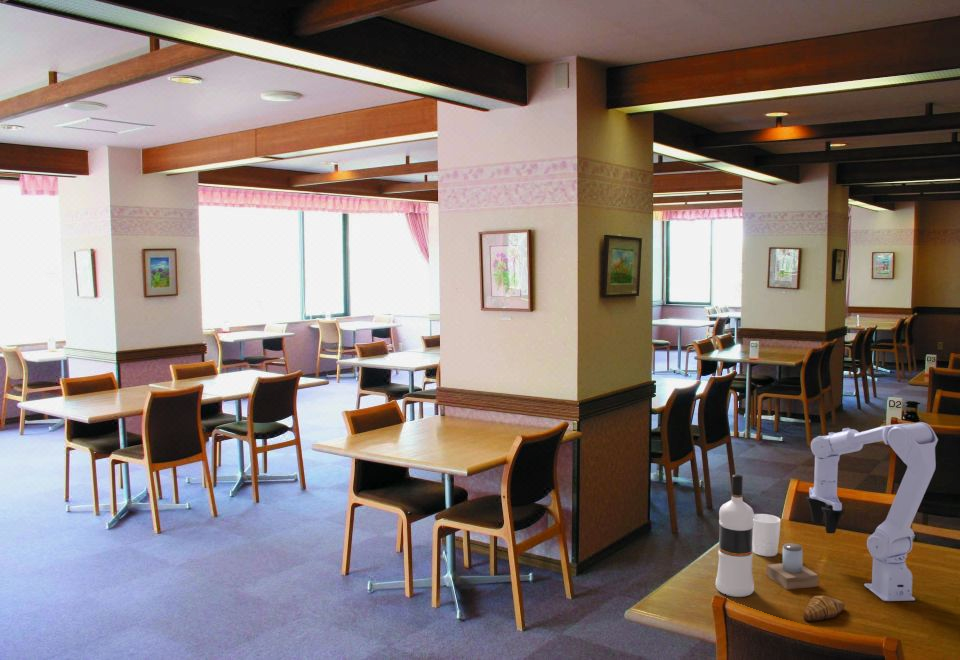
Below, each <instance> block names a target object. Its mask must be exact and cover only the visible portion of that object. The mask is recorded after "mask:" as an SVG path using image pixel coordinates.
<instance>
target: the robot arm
mask: <svg viewBox="0 0 960 660" xmlns="http://www.w3.org/2000/svg"><path fill="white" fill-rule="evenodd" d="M938 441H939V438H938V437H937V434H936V433H935V431H934V429H933V427H931V425H929V424H928V423H926V422H922V421H918V422H915V423H912V422H911V423H910V422H909V423H908V422H907V423H898V424H897V423H896V424H895V423H894V424H888V425H887V424H886V425H882V426H879V427H875V428H872V429H868V430H863V431H860V432H859V431H858V429H857V430H856V429H854V428H853V429H852V428H850V427H845V428H842V431H839V432H838V431H837V432H833V431H831V432H828V435H818V436H816V437H814V438H813V439H812V440H811V441H810V450H811V452H812V454H813V455H814V473H813V474H814V477H813V480H814V481H813V487H809V491H808V494H809V496H806V497H805V500H806V503H807V504H808V507H809V510H810V515H811V520H812V523H813V524H821V525H822V523H823V520H824V525H825V533H826V534H835V533H836V531H837V528H838V525H839V522H840V520H841V519H842V517H843V515H844V514H845V512H846V510H845V509H844V508H843V503H842V502H841V501H840V500H839V497H838V494H837V493H838V469H839V465H838V464H839V461H840V457H841V455H846V454H850V453H854V452H860V451H861V450H862V449H863V447H864V445H867V444H868V445H869V444H872V443H873V444H874V443H878V442H884V444H885V445H889V446H890V448H892V450H893V451H894V452H895V454H896V455H897V456H898V457H899V458H900V459H901V461H902V462H903V463H904V464H905V465H906V466H907V467H906V470H905V473H904V475H903V477H902V479H901V482H900V485H899V487H898V489H897V492H896V495H895V496H894V499H893V502H892V504H891V507H890V509H889V511H888V513H887V516H886V518H885V520H884V521H883V522H881V524H879V525H878V526H877V527H876V528H875V531H874V532H873V533H872V534H871V535H869V536H868V537H867V539H866V546H867V550H868V552H869V554H870V555H871V558H872V570H871V571H872V574H871V583H864V587H865V588H867V589H868V590H869V591H871V592H872V593H873V594H874V595H876V596H877V598H880V599H881V600H882V601H884V602H901V601H903V602H904V601H905V602H907V601H915V600H916V598H915V597H914V596H912V595H913V578H914V577H913V573H912V571H911V570H910V569H909V568H908V566H907V564H906V559H907V558H908V555H907V554H908V553H910V552H911V551H912V549H913V537H914V536H915V532H914V531H913V529H912V528H911V525H912V523H913V522H914V519H915V517H916V514H917V512H918V509H919V507H920V505H921V503H922V502H923V501H922V500H923V498H924V495H925V494H926V491H927V489H928V487H929V485H930V482H931V480H932V478H933V476H934V473H935V471H936V468H937V467H936V463H937V461H936V446H937V443H938ZM826 505H828V506H826ZM823 518H824V519H823Z"/></svg>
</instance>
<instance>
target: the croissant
mask: <svg viewBox="0 0 960 660" xmlns="http://www.w3.org/2000/svg"><path fill="white" fill-rule="evenodd" d="M845 607H846V606H845V603H844V602H843V601H841V600H840V599H837V598H832V597H831V596H827V595H814V596H813V597H811V598H810V601H809V603H808V604H807V606H806V607H805V609H804V613H803V615H802V616H803V620H804V621H805V622H819V621H823V620H830V619H834V618H835V617H836V616H837V615H840V614H841V613H842V612H843V611H844V610H845Z"/></svg>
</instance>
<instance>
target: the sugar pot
mask: <svg viewBox="0 0 960 660" xmlns="http://www.w3.org/2000/svg"><path fill="white" fill-rule="evenodd" d="M802 565H803V547H802V545H800V544H798V543H794V542H786V543H784V544H783V546H782V569H783V570H784V571H786V572H789V573H801V572H802Z"/></svg>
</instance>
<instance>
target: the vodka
mask: <svg viewBox="0 0 960 660" xmlns="http://www.w3.org/2000/svg"><path fill="white" fill-rule="evenodd" d="M743 477H744V476H743V475H741V474H736V473H735V474H732V475H731V499H730V500H728V501H727V502H725V503H723V504H722V505H721V506H720V507H719V511H718V512H719V513H718V515H719V516H718V517H719V520H718V524H719V529H718V530H719V531H718V533H719V534H718V536H719V539H718V541H719V542H718V543H719V544H718V551H717V553H718V565H717V573H716V578H715V587H716V590H717V591H718V592H719V593H721V594H723V595H725V594H726V596H727V597H729V596H730V597H734V598H742V597H743V598H745V597H748V596H750V595H752V594H753V593H754V591H755V582H754V578H753V577H754V576H753V557H754V552H753V550H752V540H753V526H754V523H753V521H754V515H755V513H754V510H753V508H752V506H750V504H748V503H746V502H744V500H743V489H744V487H743V485H744V482H743V481H744V479H743Z"/></svg>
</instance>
